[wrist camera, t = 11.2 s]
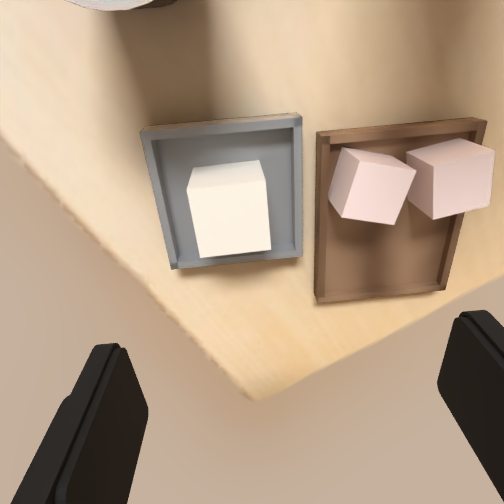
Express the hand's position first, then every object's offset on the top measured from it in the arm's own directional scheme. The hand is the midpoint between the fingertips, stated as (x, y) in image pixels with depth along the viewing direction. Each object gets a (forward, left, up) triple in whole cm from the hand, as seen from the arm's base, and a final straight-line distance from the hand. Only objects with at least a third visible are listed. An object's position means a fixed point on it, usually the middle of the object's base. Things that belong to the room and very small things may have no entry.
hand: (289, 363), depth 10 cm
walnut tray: (-11, +5, -20) cm, 23 cm away
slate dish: (+2, +2, -20) cm, 20 cm away
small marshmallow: (-8, +1, -19) cm, 20 cm away
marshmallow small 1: (-14, +1, -19) cm, 24 cm away
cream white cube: (+2, +2, -19) cm, 19 cm away
